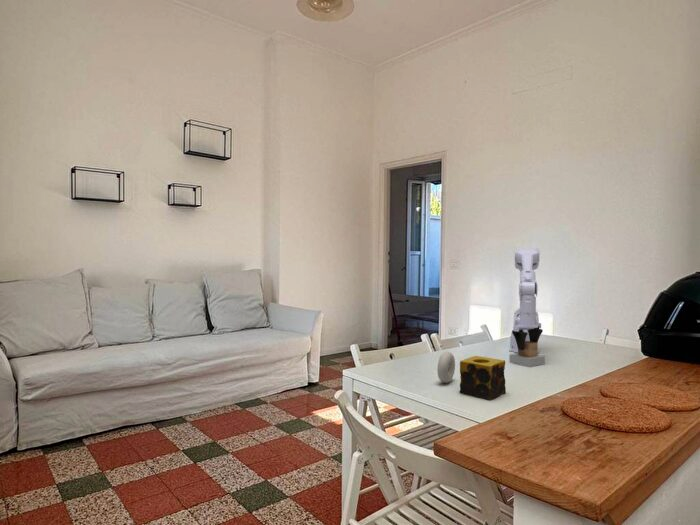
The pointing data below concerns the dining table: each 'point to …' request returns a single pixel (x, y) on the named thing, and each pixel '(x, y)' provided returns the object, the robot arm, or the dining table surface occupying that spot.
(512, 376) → the dining table surface
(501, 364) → the candle
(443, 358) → the donut
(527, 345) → the block
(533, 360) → the base
